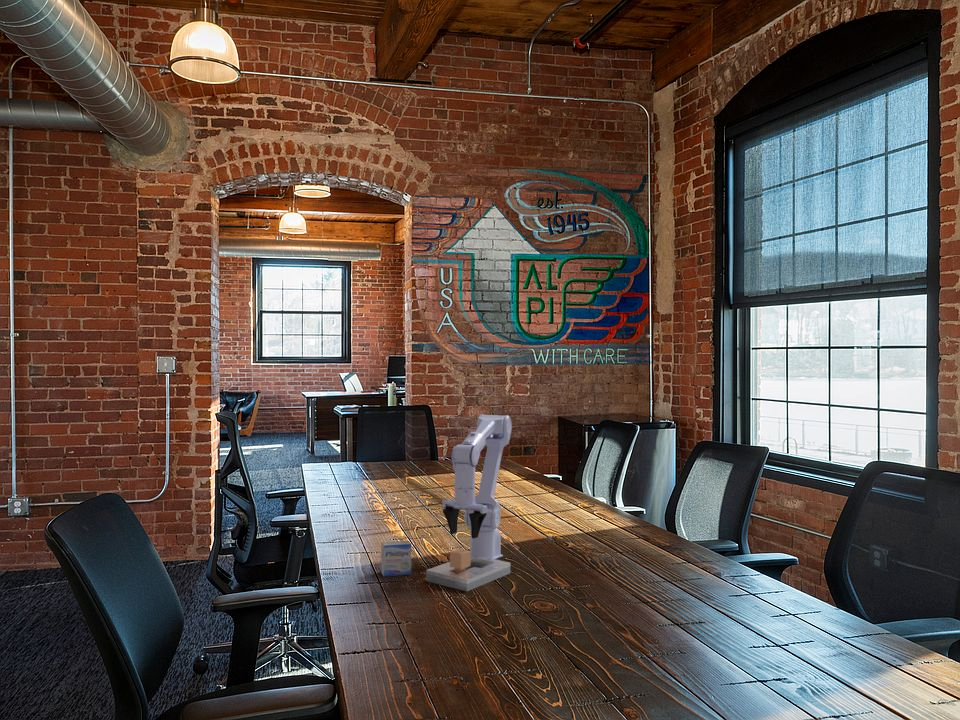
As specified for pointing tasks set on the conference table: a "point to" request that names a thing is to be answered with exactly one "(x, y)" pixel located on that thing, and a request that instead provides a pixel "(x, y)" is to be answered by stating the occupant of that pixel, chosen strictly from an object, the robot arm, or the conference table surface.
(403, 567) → the medicine box
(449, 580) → the keyhole plate
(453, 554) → the headed stud
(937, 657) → the conference table surface
